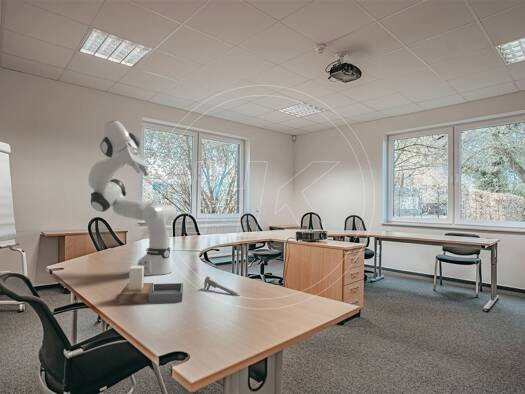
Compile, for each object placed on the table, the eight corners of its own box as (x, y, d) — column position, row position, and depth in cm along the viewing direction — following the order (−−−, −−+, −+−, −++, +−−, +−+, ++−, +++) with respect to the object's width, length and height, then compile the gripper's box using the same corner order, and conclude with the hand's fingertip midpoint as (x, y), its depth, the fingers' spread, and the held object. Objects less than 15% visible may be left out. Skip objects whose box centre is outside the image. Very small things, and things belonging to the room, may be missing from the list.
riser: (119, 304, 126) (119, 294, 126) (127, 292, 142) (127, 283, 142) (148, 302, 128) (148, 293, 128) (153, 291, 144) (153, 282, 144)
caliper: (203, 288, 152) (204, 275, 152) (205, 288, 153) (205, 275, 153) (238, 296, 141) (238, 282, 141) (239, 296, 142) (240, 282, 142)
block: (128, 289, 132) (129, 268, 132) (131, 286, 137) (131, 265, 137) (141, 289, 133) (142, 268, 133) (143, 286, 138) (144, 265, 138)
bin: (148, 302, 129) (149, 294, 129) (153, 291, 144) (153, 283, 144) (181, 301, 131) (182, 293, 131) (183, 290, 147) (183, 283, 147)
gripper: (131, 158, 160) (145, 180, 160) (112, 148, 140) (128, 174, 139) (141, 151, 161) (156, 174, 160) (124, 141, 140) (141, 166, 139)
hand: (143, 174), depth 149 cm, fingers open, 8 cm apart
